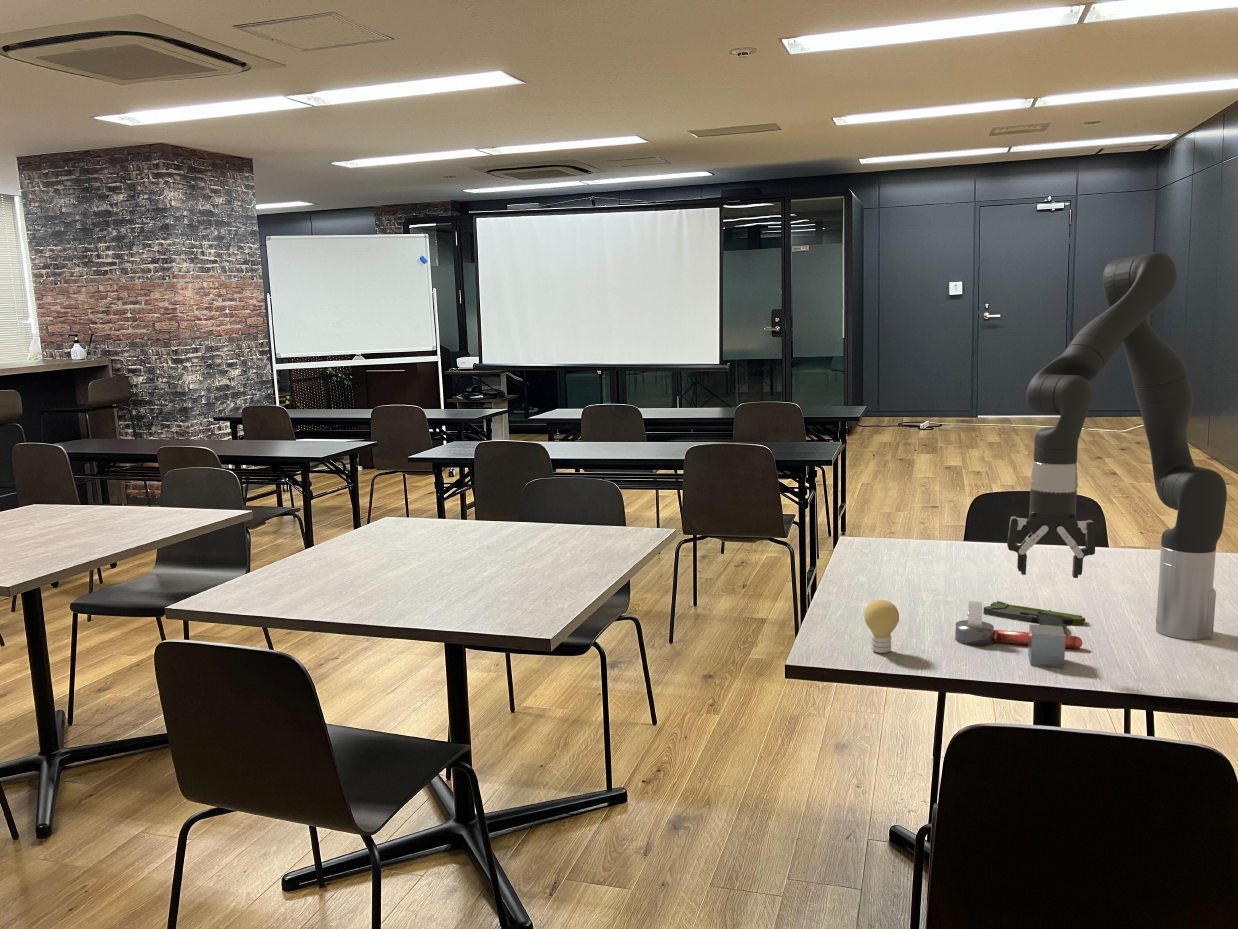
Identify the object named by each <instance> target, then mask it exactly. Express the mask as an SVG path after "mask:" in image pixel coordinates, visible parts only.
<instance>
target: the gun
mask: <svg viewBox="0 0 1238 929" xmlns="http://www.w3.org/2000/svg"><path fill="white" fill-rule="evenodd" d="M982 615H985V616H991V617H997V618H1003V619H1009V620H1015V621H1016V620H1017V621H1023V622H1028V623H1033V624H1038V625H1045V626H1059V627H1062V628H1063V631H1064V633H1065V635H1067V626H1066V625H1073V626H1074V625H1075V626H1083V625H1084V624H1085V623H1086V618H1085V617H1083V615H1082V614H1081V615H1080V614H1072V613H1067V612H1060V611H1055V610H1054V611H1053V610H1051V609H1041V608H1036V607H1035V608H1034V607H1028V606H1021V605H1015V604H1009V603H1007V602H1004V601H1000V600H996V601H993V602H992V603H990V605H987V606H983V610H982Z"/></svg>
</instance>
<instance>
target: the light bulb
mask: <svg viewBox="0 0 1238 929" xmlns="http://www.w3.org/2000/svg"><path fill="white" fill-rule="evenodd" d="M863 617H864V621H865V624H866V626H867V627H868V629H869V630H870V631H871V635H870V638H871V639H870V644H871V645H870V649H871V650H872V651H873V652H874V653H878V654H886V653H889V652H890V651H891V650H892V635H891V633H892V632H893V631H894V630H895V629H896V627H897V626H898V624H899V622H900V613H899V610H898V608H897V607H896V605H895V604H894V603H893V602H891V601H889V600H887V599H877V600H873V601H871V602H869V603H868V604H867V605H866V607H865V610H864V614H863Z"/></svg>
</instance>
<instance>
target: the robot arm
mask: <svg viewBox="0 0 1238 929" xmlns="http://www.w3.org/2000/svg"><path fill="white" fill-rule="evenodd" d="M1177 274H1178V273H1177V268H1176V266H1175V262H1174V261H1173V259H1172V258H1171V257H1170V256H1169V255H1168V254H1166V253H1164V252H1159V251H1157V252H1154V251H1153V252H1146V253H1142V254H1137V255H1134V256H1127V257H1124V258H1123V257H1122V258H1119V259H1115V260H1112V261H1110V262H1109V263H1108V264H1106V266H1105V267H1104V270H1103V272H1102V288H1103V292H1104V297H1105V299H1106V303H1107V305H1108V308H1107V309H1106V310H1104V312H1102V313H1101V314H1099V315H1097V316H1096V317H1095V318H1093V319H1092V320H1091V321H1089V322H1088V323H1087V324H1086V325H1085V326H1084V327H1083V328H1081V329H1080V330H1079V331H1078V332H1077V334H1075V336H1074V337H1073V339H1072V340H1071V342H1070V343H1069V344H1068V346H1067V347H1066V349H1065V350H1063V353H1062V354H1060V355H1058V356H1057V357H1056V358H1054V359H1053V360H1052V361H1051V362H1050V363H1048V364H1046V366H1044V367H1043V368H1042V369H1040V370H1039V371H1037V373H1036V374H1034V376H1033V377H1032V378H1031V380H1030V381H1029V383H1028V385H1027V389H1026V392H1025V400H1026V403H1027V405H1028V406H1027V407H1028V408H1030V410H1032V411H1033V412H1035V413H1038V414H1043V415H1058V416H1060V417H1059V419H1058V422H1057V423H1056V424H1055V426H1051V427H1044V428H1040V429H1039V430H1037V431H1036V432H1035V435H1034V444H1033V447H1034V448H1033V463H1032V469H1031V475H1030V489H1029V490H1030V491H1029V492H1030V495H1029V510H1028V511H1029V514H1028V516H1027V518H1025V517H1024V518H1022V517H1017V516H1014V515H1012V516H1010V517H1009V524H1008V525H1009V526H1008V534H1007V542H1006V543H1007V544H1006V545H1007V549H1008V550H1009V551H1010V552H1015V553H1017V562H1016V564H1017V565H1016V566H1017V570H1018V572H1020V573H1021V576H1026V575H1027V560H1028V555H1027V552H1028V551H1029V550H1030V549H1031V548H1032V547H1034V546H1035V544H1037V542H1039V543H1041V544H1055V545H1061V544H1063V543H1065V544H1066V545H1067V546H1068V547H1069V549H1070V550H1071V551H1072V552H1073V554H1074V555H1073V557H1072V571H1071V573H1072V574H1071V575H1072V578H1073V579H1078V578H1079V576H1081V575H1082V573H1083V568H1084V567H1083V566H1084V564H1083V563H1084V558H1085V557H1088V556H1093V555H1095V554H1096V524H1095V523H1094V521H1093V520H1092V519H1087V520H1081V521H1080V520H1077V519H1076V518H1077V517H1076V515H1077V514H1076V513H1077V511H1076V510H1077V496H1078V495H1077V493H1078V492H1077V491H1078V487H1079V483H1078V477H1079V476H1078V475H1079V474H1078V464H1077V463H1078V450H1079V449H1078V448H1079V439H1080V436H1081V433H1082V430H1083V427H1084V424H1085V420H1086V417H1087V415H1088V412H1089V410H1090V408H1091V404H1092V400H1093V391H1092V387H1091V384H1090V382H1091V381H1093V380H1094V379H1096V378H1097V377H1098V376H1099V375H1100V373H1101V372H1102V371H1103V369H1104V368H1105V367H1106V365H1107V363H1108V362H1109V361H1110V359H1111V358H1112V357H1113V355H1114V353H1115V352H1116V351H1117V350H1118V348H1119V347H1120V346H1121V345H1122V348H1123V350H1124V354H1125V356H1126V360H1127V365H1128V368H1129V372H1130V376H1131V381H1132V382H1131V383H1132V386H1133V390H1134V393H1135V398H1136V401H1137V404H1138V407H1139V410H1140V414H1141V418H1142V423H1143V426H1144V429H1145V430H1144V431H1145V434H1146V435H1145V436H1146V438H1147V442H1148V445H1149V450H1150V451H1149V452H1150V458H1151V466H1152V473H1153V480H1154V486H1155V490H1156V491H1155V492H1156V494H1157V496H1158V499H1159V500H1160V502H1161V503H1162V504H1163V505H1164V506H1166V507H1168V508H1169V509H1172V510H1175V511H1177V514H1176V521H1175V525H1174V527H1172V528H1168V529H1165V530H1164V531H1163V532H1162V533H1161V541H1160V556H1159V571H1158V573H1159V574H1158V588H1157V598H1156V601H1157V602H1156V614H1155V616H1156V617H1155V630H1156V631H1157V633H1160V634H1161V635H1164V636H1168V637H1170V638H1175V639H1182V640H1192V641H1193V640H1195V641H1196V640H1204V639H1209V640H1211V639H1214V628H1215V627H1214V626H1215V615H1216V599H1217V591H1216V590H1215V589H1214V581H1215V580H1214V579H1215V567H1216V566H1215V564H1216V554H1217V553H1216V552H1217V544H1218V541H1219V540H1220V538H1221V536H1222V534H1223V529H1224V523H1225V515H1226V507H1227V496H1228V494H1227V493H1228V490H1227V485H1226V482H1225V479H1224V477H1223V476H1222V475H1221V474H1220V473H1219V472H1217V471H1215V470H1213V469H1210V468H1206V467H1201V466H1197V465H1195V463H1194V461H1193V458H1192V455H1191V451H1190V446H1189V444H1188V443H1189V442H1188V436H1187V433H1188V432H1187V430H1188V425H1189V422H1190V418H1191V415H1192V411H1193V405H1194V395H1193V390H1192V385H1191V381H1190V378H1189V373H1188V370H1187V367H1186V364H1185V363H1184V361H1183V360H1182V358H1181V357H1180V356H1179V354H1178V353H1177V352H1176V351H1175V350H1174V349H1173V348H1172V347H1171V346H1169V344H1168V343H1167V342H1165V341H1164V339H1162V338H1161V337H1160V336H1159V334H1158V333H1156V331H1155V330H1154V328H1152V326H1151V325H1150V322H1149V320H1148V317H1149V315H1151V314H1152V313H1153V312H1154V311H1155V310H1156V309H1157V308H1158V307H1159V306H1160V305H1162V303H1163V302H1165V301H1166V299H1168V298H1169V296H1170V295H1171V293H1172V292H1173V290H1174V288H1175V286H1176V283H1177ZM1024 525H1026V527H1027V528H1028V529H1029V531H1030V533H1028V535H1026V537H1025V538H1024V540H1023V541H1022V542H1021V543H1020V544H1018V543H1017V537H1018V535H1017V534H1018V531H1020V530H1021V529H1022V528H1023V526H1024ZM1078 528H1080V530H1081V532H1082V533H1083V534H1085V546H1084V547H1081V548H1080V546H1079V545H1078V543H1077V542H1076V540H1074V539H1073V537H1072V535H1073V533H1075V531H1077V529H1078Z"/></svg>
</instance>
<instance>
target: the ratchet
mask: <svg viewBox="0 0 1238 929" xmlns="http://www.w3.org/2000/svg"><path fill="white" fill-rule="evenodd" d="M966 615H967V619H964V620H963V619H962V620H959V621H957V622H955V629H954V630H955V636H954V640H955V641H956V642H957V643H960V644H962V645H966V646H970V647H988V646H990V645H993V644H994V643H999V644H1000V643H1001V644H1012V645H1024V646H1029V631H1013V630H1005V629H1004V630H1002V629H995V627H994V625H993V624H991V623H989V622H987V621H983V602H982V601H976V600H975V601H974V600H973V601H971V600H969V601H968V609H967V612H966ZM1065 636H1066V639H1065V649H1074V650H1077V649H1080V648H1081V647H1082V646H1083V644H1084V642H1083V639H1082V638H1081V637H1080V636H1077V635H1069V634H1068V635H1067V634H1066V635H1065Z"/></svg>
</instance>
